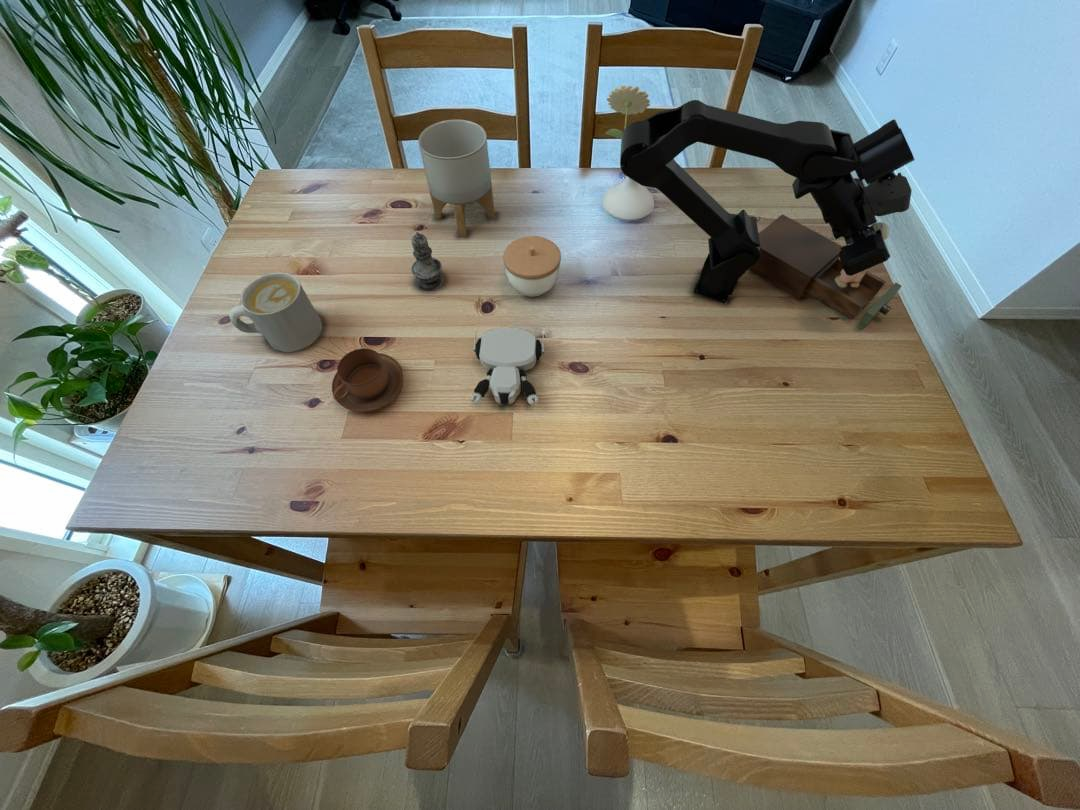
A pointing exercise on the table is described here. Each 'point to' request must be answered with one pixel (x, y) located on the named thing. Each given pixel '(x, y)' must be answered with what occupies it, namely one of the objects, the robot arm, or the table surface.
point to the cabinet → (792, 255)
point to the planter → (457, 168)
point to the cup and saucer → (366, 380)
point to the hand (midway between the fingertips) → (871, 255)
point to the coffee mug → (278, 312)
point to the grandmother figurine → (857, 277)
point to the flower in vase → (628, 195)
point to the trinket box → (532, 264)
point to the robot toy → (507, 363)
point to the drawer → (850, 292)
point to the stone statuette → (425, 265)
